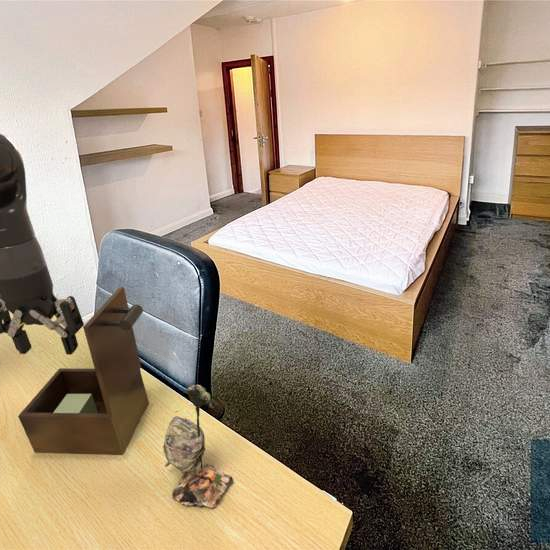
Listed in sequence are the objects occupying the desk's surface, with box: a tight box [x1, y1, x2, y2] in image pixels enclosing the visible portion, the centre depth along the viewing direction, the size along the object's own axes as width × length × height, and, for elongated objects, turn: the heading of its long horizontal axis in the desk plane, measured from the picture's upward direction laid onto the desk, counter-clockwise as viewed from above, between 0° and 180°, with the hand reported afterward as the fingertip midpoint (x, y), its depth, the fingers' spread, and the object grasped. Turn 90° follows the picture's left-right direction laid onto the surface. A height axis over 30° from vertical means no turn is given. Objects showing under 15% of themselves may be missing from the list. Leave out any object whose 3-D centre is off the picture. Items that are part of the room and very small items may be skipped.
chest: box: [17, 367, 150, 456], centre depth 77 cm, size 17×13×9 cm
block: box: [53, 394, 98, 414], centre depth 78 cm, size 5×5×5 cm
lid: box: [82, 286, 144, 416], centre depth 70 cm, size 18×13×5 cm
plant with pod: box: [162, 384, 234, 510], centre depth 62 cm, size 8×11×20 cm
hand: (48, 351), depth 71 cm, fingers open, 8 cm apart
